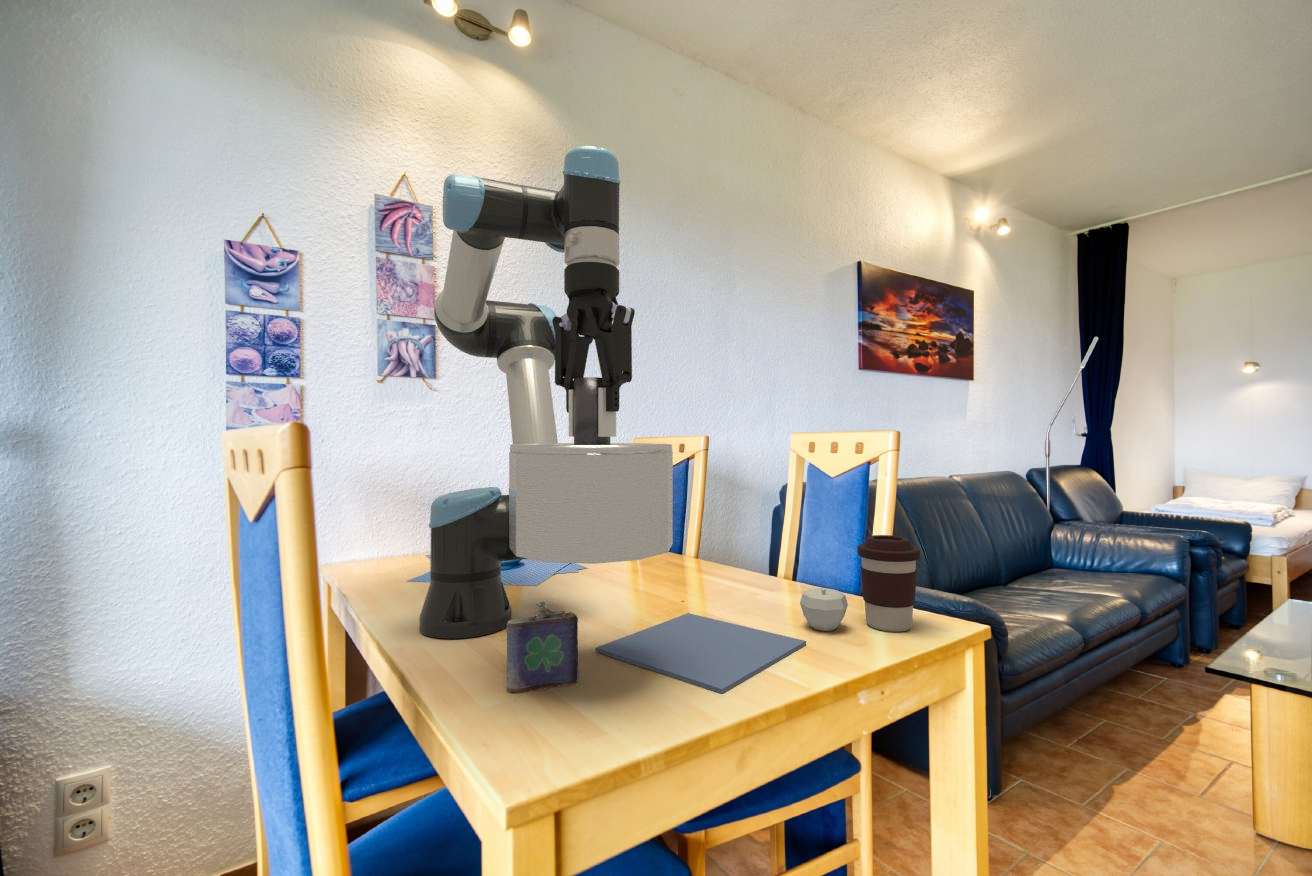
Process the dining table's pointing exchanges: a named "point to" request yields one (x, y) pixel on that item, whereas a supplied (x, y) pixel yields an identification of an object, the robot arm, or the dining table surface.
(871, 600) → the coffee cup
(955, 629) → the dining table surface
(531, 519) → the cake dome
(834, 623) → the grey faceted round piece
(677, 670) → the mat
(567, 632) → the flask
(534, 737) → the dining table surface
